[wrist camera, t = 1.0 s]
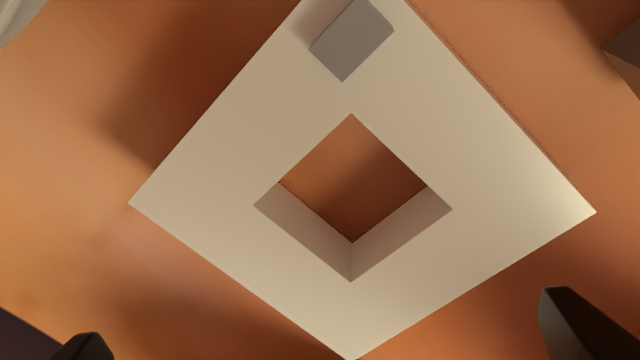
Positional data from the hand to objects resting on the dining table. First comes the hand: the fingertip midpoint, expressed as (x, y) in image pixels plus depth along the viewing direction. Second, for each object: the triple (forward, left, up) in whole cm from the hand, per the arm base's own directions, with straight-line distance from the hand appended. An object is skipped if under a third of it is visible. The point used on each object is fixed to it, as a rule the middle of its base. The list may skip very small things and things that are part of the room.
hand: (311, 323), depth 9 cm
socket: (-3, +2, -13) cm, 13 cm away
